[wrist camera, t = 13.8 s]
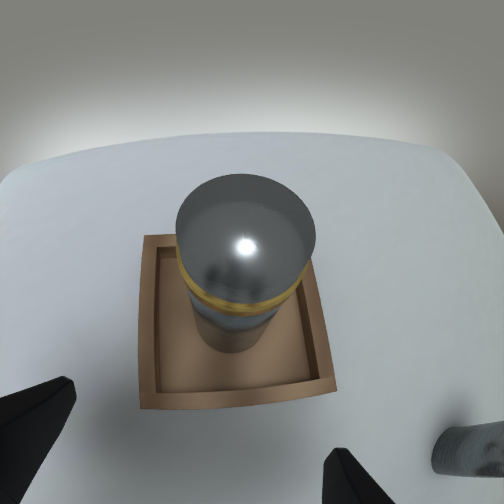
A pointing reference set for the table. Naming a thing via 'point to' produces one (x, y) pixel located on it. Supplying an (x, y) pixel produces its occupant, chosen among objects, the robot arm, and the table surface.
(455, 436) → the cylinder
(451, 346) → the table surface
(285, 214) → the cylinder
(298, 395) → the tray
